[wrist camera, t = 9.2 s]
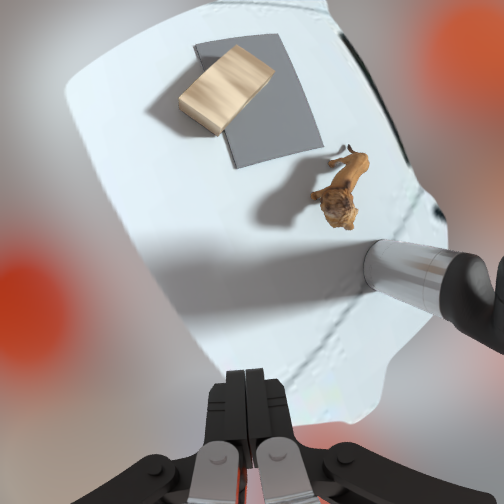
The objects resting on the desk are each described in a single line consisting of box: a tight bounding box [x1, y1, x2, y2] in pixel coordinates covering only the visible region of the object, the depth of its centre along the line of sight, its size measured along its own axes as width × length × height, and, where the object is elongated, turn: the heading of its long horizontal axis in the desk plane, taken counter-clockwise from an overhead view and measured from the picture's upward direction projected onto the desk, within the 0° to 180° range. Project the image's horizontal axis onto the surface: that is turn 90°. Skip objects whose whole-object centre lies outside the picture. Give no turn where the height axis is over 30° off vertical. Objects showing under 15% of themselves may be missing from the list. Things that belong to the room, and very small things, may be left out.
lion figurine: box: [311, 144, 370, 230], centre depth 36 cm, size 15×5×9 cm, turn 154°
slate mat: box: [196, 34, 324, 169], centre depth 35 cm, size 14×22×1 cm, turn 17°
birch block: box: [178, 44, 275, 136], centre depth 32 cm, size 4×7×12 cm
